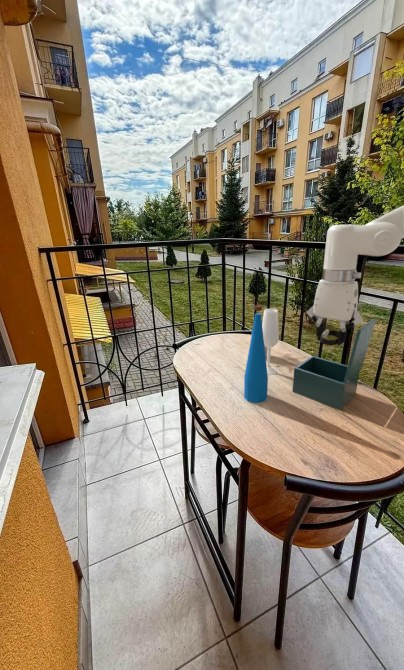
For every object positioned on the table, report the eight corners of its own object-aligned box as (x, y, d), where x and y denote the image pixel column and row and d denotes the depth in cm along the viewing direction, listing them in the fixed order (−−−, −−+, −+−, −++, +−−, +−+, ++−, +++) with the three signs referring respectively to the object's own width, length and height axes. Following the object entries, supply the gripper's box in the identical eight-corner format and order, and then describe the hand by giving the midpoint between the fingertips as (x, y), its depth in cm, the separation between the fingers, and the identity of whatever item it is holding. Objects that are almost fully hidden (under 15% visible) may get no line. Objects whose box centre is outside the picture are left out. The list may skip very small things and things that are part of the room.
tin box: (292, 391, 93) (294, 368, 90) (309, 377, 102) (312, 355, 98) (340, 410, 83) (344, 384, 80) (355, 393, 91) (360, 369, 88)
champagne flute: (277, 375, 104) (281, 313, 96) (259, 374, 105) (261, 312, 97) (276, 367, 110) (280, 308, 102) (259, 366, 112) (261, 307, 103)
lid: (357, 329, 73) (360, 330, 73) (373, 318, 81) (376, 319, 81) (343, 382, 80) (346, 383, 79) (358, 367, 88) (361, 368, 87)
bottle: (241, 400, 90) (242, 308, 79) (247, 388, 96) (250, 302, 85) (263, 405, 87) (268, 310, 76) (269, 393, 93) (274, 304, 82)
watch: (328, 336, 83) (329, 324, 81) (344, 340, 79) (346, 328, 78) (315, 343, 78) (316, 331, 77) (332, 348, 75) (333, 335, 73)
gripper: (379, 276, 69) (367, 344, 75) (312, 272, 80) (307, 331, 87) (370, 281, 64) (358, 353, 70) (300, 275, 75) (295, 338, 82)
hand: (330, 340), depth 79 cm, fingers closed on watch, 4 cm apart
